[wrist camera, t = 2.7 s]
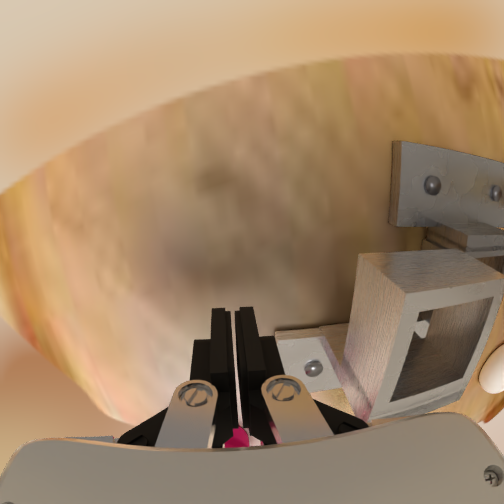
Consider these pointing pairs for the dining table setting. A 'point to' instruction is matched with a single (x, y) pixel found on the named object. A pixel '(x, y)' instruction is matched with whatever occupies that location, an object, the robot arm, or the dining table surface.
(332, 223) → the dining table surface
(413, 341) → the square tube bracket
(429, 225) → the fixed leaf
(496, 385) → the garlic bulb
